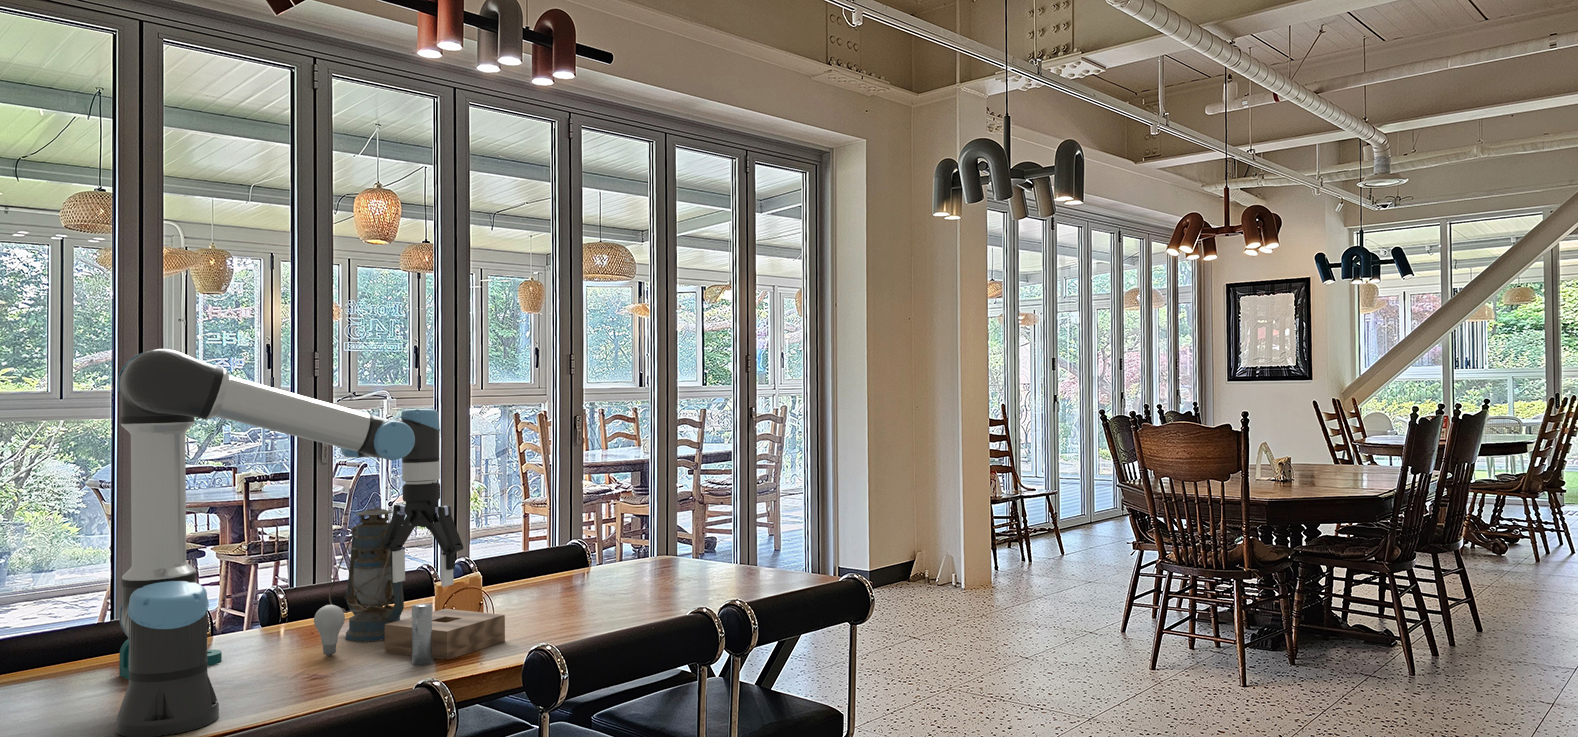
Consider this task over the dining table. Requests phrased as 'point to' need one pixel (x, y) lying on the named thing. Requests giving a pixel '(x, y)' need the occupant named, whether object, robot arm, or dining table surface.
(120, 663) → the bracket
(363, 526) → the lantern
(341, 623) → the lightbulb
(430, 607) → the pin
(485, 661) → the dining table surface
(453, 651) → the walnut block
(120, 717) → the robot arm
